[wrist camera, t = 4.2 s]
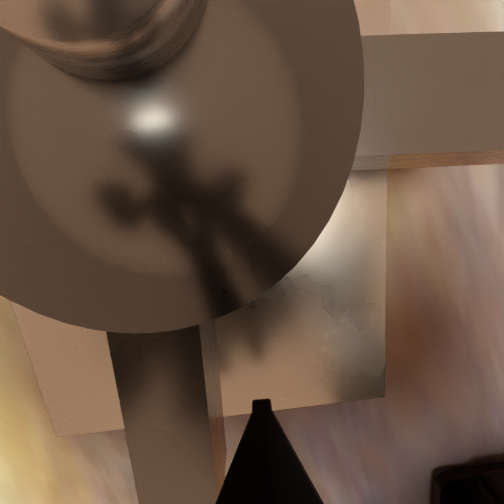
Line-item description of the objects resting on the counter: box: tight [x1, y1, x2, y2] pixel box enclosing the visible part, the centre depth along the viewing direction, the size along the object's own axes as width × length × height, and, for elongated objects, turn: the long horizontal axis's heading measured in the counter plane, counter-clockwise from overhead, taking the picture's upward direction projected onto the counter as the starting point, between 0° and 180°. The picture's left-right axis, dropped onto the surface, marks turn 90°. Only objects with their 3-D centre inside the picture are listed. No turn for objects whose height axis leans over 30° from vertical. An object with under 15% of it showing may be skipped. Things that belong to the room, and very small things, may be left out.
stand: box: [10, 0, 390, 437], centre depth 6 cm, size 24×12×5 cm, turn 6°
